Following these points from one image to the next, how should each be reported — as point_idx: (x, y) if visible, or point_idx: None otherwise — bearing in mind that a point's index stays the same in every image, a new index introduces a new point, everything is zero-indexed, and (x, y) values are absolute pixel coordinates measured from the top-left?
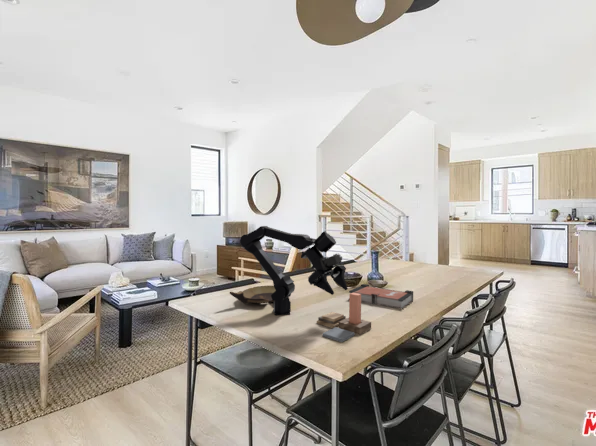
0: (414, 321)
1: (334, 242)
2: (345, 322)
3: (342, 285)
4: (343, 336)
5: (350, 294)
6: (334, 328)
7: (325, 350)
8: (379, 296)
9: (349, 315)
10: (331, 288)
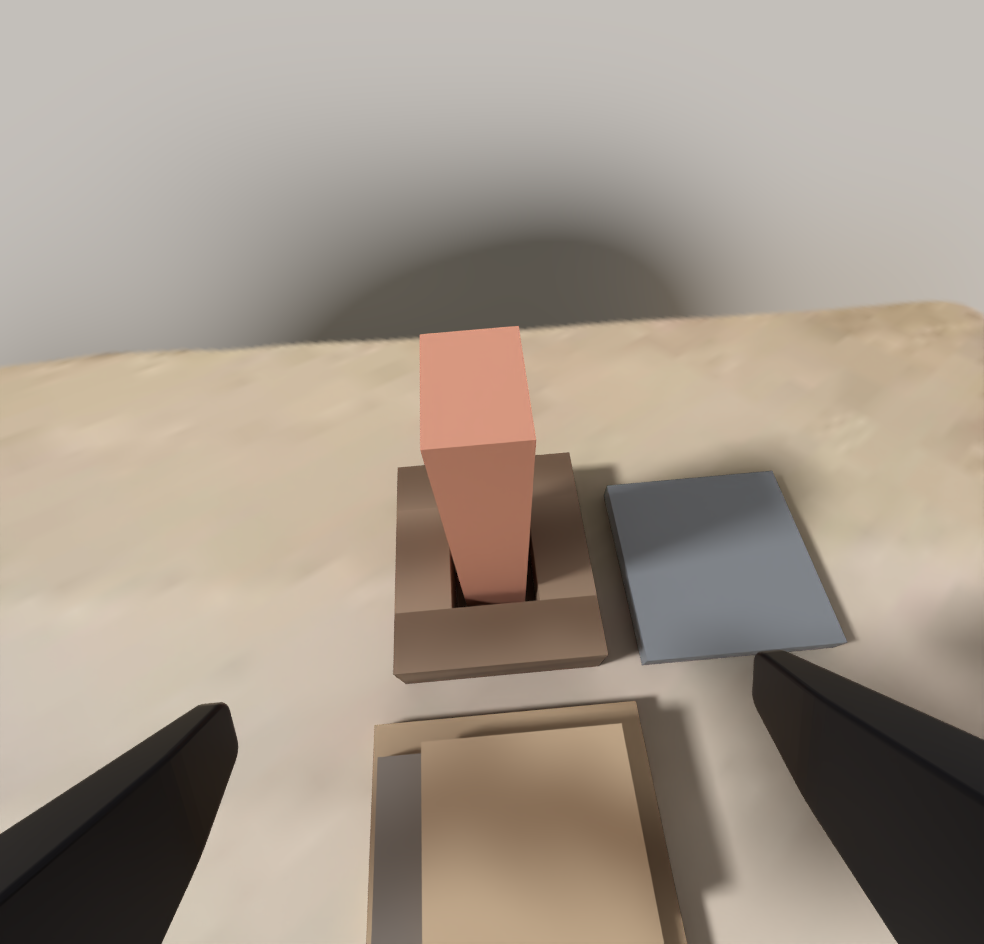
0: (95, 392)
1: None
2: (566, 599)
3: (140, 897)
4: (728, 492)
5: (532, 430)
6: (678, 646)
7: (937, 470)
8: None
9: (527, 565)
10: (866, 707)
